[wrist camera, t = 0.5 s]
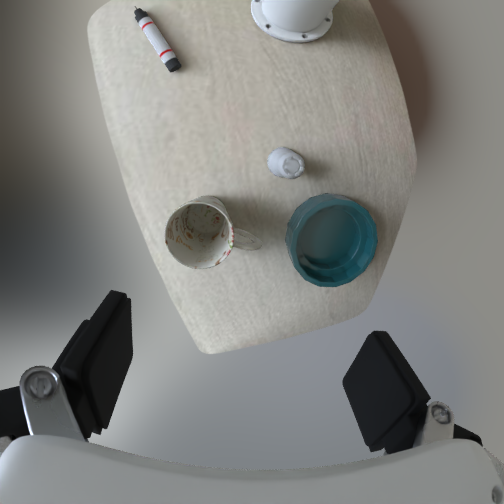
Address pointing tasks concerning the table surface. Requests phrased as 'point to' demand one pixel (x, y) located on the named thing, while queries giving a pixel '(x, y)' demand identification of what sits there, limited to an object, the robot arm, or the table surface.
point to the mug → (203, 233)
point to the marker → (157, 40)
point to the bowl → (331, 240)
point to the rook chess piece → (285, 163)
